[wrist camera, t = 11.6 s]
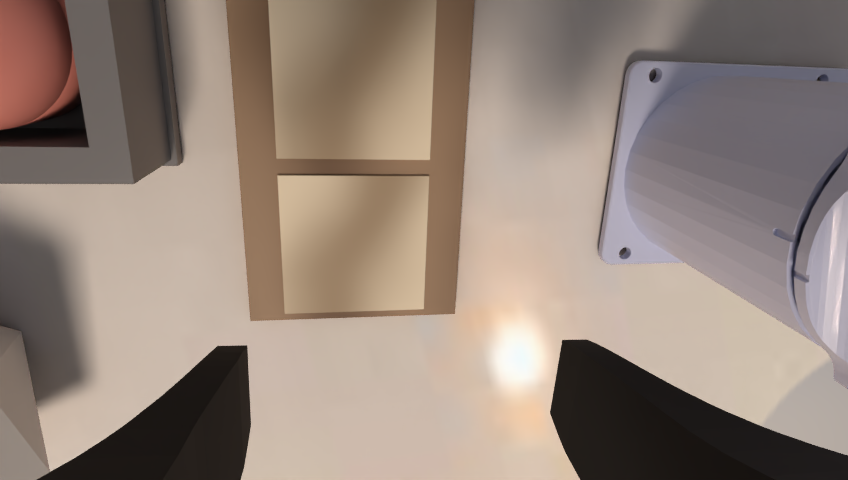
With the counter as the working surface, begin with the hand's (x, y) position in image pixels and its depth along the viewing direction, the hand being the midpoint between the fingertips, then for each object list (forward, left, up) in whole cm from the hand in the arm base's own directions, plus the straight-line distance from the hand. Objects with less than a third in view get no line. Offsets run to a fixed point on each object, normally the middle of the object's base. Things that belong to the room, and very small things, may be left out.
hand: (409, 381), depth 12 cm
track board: (+1, -9, -9) cm, 13 cm away
